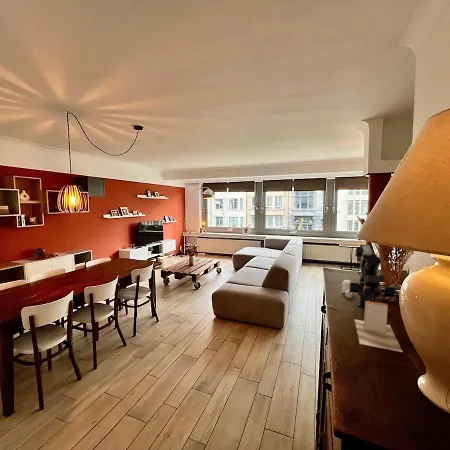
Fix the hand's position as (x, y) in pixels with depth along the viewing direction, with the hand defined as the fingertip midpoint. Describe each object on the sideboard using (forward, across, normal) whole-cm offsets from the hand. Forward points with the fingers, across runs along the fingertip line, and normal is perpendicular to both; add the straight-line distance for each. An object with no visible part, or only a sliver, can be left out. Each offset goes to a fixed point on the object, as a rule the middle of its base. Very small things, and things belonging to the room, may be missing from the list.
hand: (373, 306), depth 112 cm
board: (+13, 0, -1) cm, 13 cm away
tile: (+10, 0, 0) cm, 11 cm away
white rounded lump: (-20, -8, +32) cm, 38 cm away
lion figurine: (-21, +9, +34) cm, 41 cm away
